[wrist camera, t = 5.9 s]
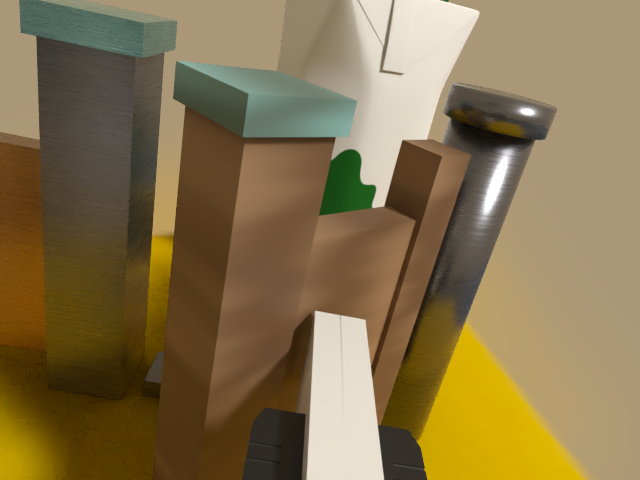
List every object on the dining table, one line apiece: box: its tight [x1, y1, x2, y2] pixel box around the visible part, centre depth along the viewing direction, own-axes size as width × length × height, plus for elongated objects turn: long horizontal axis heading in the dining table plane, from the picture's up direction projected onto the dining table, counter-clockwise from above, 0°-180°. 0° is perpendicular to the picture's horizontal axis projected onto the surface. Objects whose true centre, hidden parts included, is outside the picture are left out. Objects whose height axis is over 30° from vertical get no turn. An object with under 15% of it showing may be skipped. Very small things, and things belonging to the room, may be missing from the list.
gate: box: [153, 61, 471, 480], centre depth 16 cm, size 9×3×14 cm, turn 131°
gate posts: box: [0, 0, 557, 441], centre depth 20 cm, size 21×4×15 cm, turn 89°
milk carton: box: [277, 0, 479, 216], centre depth 30 cm, size 9×9×20 cm
